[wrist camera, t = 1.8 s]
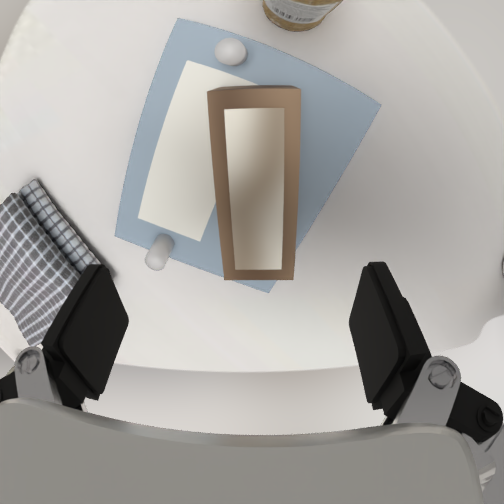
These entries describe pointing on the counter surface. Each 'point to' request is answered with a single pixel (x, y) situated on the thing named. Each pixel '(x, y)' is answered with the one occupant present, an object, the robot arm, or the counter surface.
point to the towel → (37, 260)
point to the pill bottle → (298, 12)
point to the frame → (256, 178)
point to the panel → (199, 146)
